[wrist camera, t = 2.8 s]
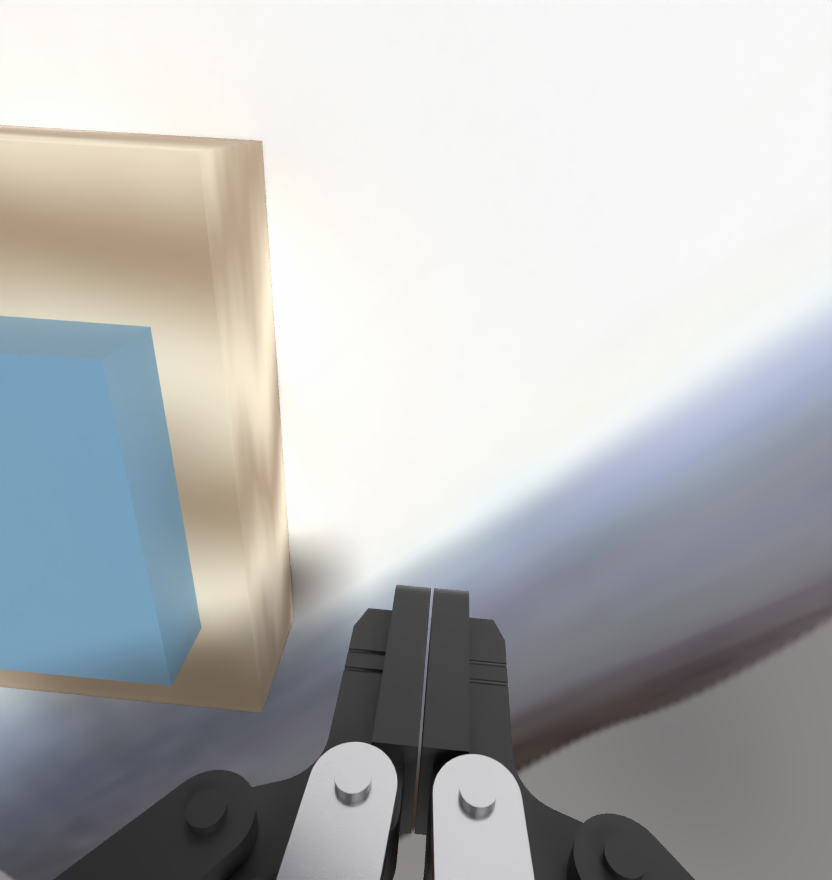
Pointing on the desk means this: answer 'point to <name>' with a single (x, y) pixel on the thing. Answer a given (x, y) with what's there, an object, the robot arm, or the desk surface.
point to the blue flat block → (89, 507)
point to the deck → (172, 362)
